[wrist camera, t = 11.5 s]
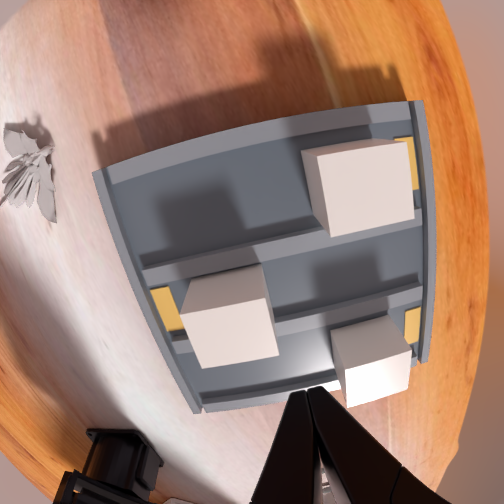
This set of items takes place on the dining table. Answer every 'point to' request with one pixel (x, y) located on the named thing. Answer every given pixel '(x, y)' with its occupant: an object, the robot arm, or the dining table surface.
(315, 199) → the beige block
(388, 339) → the white block
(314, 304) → the grey tray
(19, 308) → the dining table surface
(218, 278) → the beige block
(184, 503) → the supplement box
